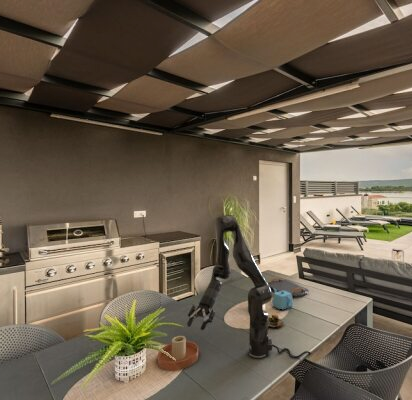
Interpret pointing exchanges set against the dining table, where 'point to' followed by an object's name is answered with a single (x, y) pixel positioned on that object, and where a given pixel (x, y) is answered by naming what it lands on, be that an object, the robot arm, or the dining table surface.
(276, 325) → the burger
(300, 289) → the serving tray
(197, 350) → the pan
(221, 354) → the dining table surface
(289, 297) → the teapot
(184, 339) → the jar
